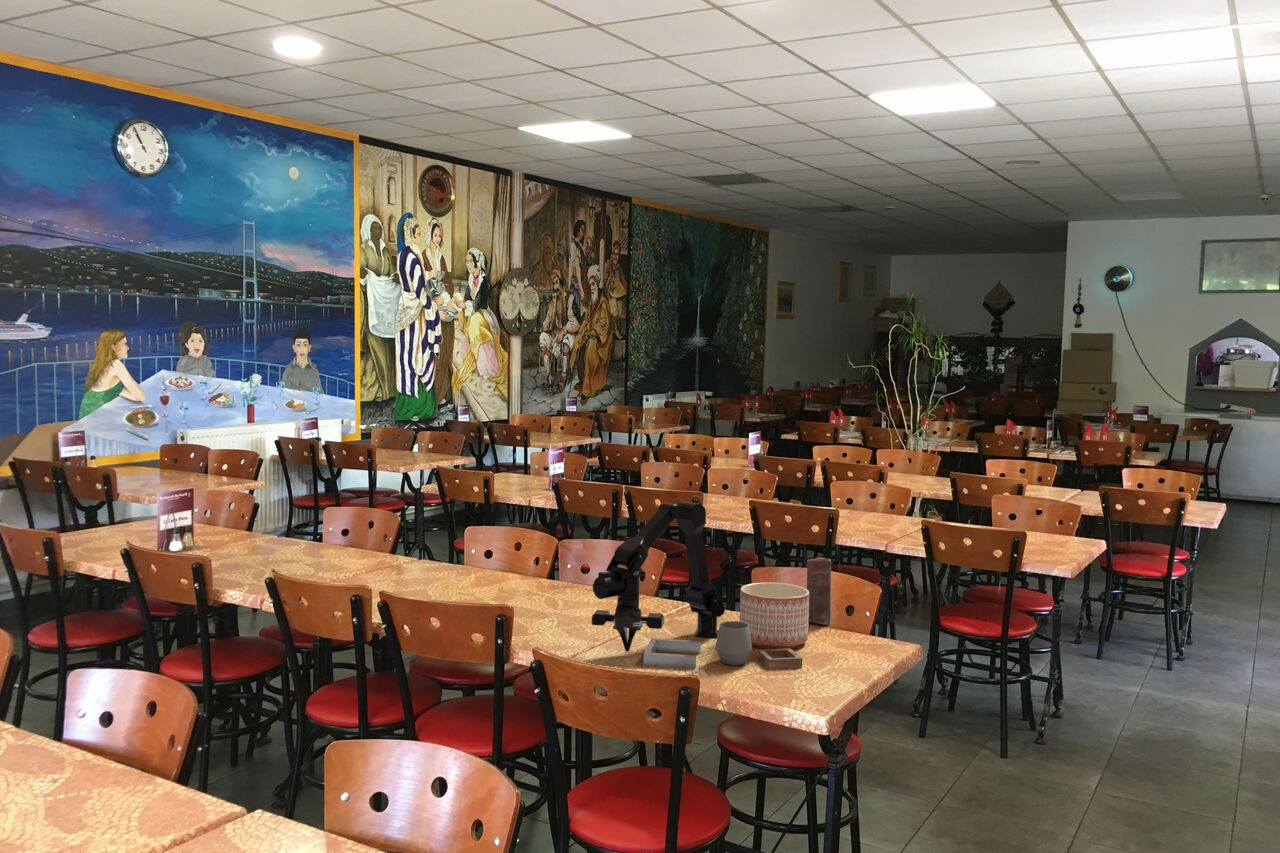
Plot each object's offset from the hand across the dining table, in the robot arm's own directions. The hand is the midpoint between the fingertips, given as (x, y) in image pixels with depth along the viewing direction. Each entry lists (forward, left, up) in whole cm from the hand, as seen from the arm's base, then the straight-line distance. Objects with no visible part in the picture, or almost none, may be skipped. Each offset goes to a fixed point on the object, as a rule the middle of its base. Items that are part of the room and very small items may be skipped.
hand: (627, 651), depth 264 cm
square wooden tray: (-2, +40, -1) cm, 40 cm away
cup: (0, +28, -1) cm, 28 cm away
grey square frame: (0, +12, -1) cm, 12 cm away
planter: (-22, +38, -1) cm, 44 cm away
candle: (-45, +51, -1) cm, 68 cm away
